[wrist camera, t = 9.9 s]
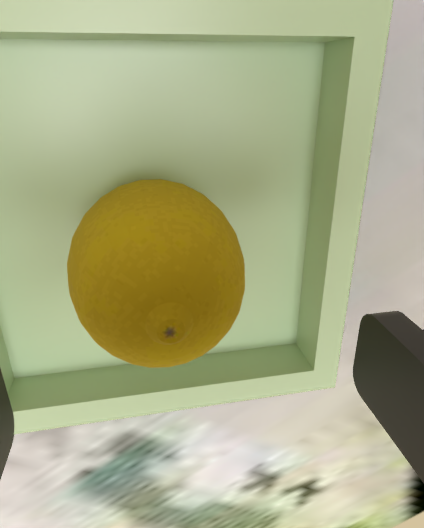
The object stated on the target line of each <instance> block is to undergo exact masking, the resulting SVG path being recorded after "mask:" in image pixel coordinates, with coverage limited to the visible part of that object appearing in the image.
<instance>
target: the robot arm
mask: <svg viewBox="0 0 424 528" xmlns="http://www.w3.org/2000/svg"><path fill="white" fill-rule="evenodd" d="M353 377H354V382H355V386H356V388H357V391H358V393H359V395H360V396H361V397H362V399H363V400H364V402H365V403H366V404H367V406H368V407H369V408H370V410H371V411H372V413H373V414H374V415H375V417H376V418H377V419H378V421H379V422H380V424H381V425H382V426H383V428H384V429H385V430H386V432H387V433H388V435H389V436H390V437H391V439H392V440H393V441H394V443H395V444H396V446H397V447H398V448H399V450H400V451H401V452H402V454H403V455H404V457H405V458H406V459H407V461H408V462H409V463H410V465H411V466H412V468H413V469H414V470H415V472H416V473H417V474H418V476H419V477H420V478H421V480H422V481H423V483H424V330H422V329H420V328H419V327H418V326H417V325H416V324H415V323H413V322H412V321H411V320H410V319H409V318H408V317H406V316H405V315H404V314H403V313H401V312H399V311H392V312H383V313H374V314H366V315H364V316H363V318H362V320H361V323H360V328H359V334H358V341H357V347H356V353H355V359H354V366H353ZM13 437H14V415H13V411H12V407H11V403H10V400H9V396H8V393H7V389H6V386H5V382H4V379H3V375H2V372H1V368H0V479H1V476H2V473H3V470H4V467H5V464H6V461H7V458H8V455H9V452H10V449H11V446H12V442H13Z"/></svg>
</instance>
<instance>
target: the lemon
mask: <svg viewBox="0 0 424 528" xmlns="http://www.w3.org/2000/svg"><path fill="white" fill-rule="evenodd" d="M67 274H68V286H69V294H70V297H71V300H72V303H73V305H74V308H75V311H76V313H77V316H78V318H79V321H80V322H81V324H82V326H83V327H84V328H85V330H86V331H87V332H88V333H89V335H90V336H91V337H92V339H93V340H94V341H95V342H96V343H97V344H98V345H99V346H101V347H102V348H103V349H104V350H106V351H107V352H108V353H110V354H111V355H112V356H115V357H117V358H119V359H121V360H123V361H126V362H128V363H130V364H133V365H138V366H144V367H149V368H159V367H172V366H176V365H180V364H185V363H188V362H190V361H192V360H194V359H196V358H198V357H201V356H203V355H204V354H205V353H207V352H208V351H209V350H211V349H212V348H213V347H215V346H216V345H217V344H218V343H219V342H220V341H221V340H222V338H223V337H224V336H225V335H226V334H227V333H228V331H229V330H230V329H231V327H232V325H233V323H234V321H235V320H236V318H237V316H238V314H239V311H240V308H241V304H242V300H243V295H244V291H245V264H244V258H243V254H242V251H241V247H240V244H239V241H238V238H237V235H236V233H235V231H234V229H233V228H232V226H231V224H230V223H229V221H228V220H227V218H226V217H225V215H224V214H223V212H222V211H221V210H220V209H219V208H218V207H217V206H216V205H215V204H214V203H213V202H211V201H210V200H209V199H208V198H207V197H206V196H205V195H204V194H202V193H200V192H198V191H196V190H194V189H192V188H190V187H188V186H186V185H184V184H182V183H177V182H172V181H168V180H163V179H149V180H138V181H134V182H131V183H128V184H124V185H121V186H119V187H117V188H115V189H114V190H112V191H111V192H109V193H107V194H106V195H104V196H102V197H101V198H100V199H99V200H98V201H97V202H96V203H95V204H94V205H93V206H92V207H91V208H90V209H89V210H88V211H87V212H86V213H85V215H84V216H83V218H82V220H81V222H80V223H79V225H78V227H77V229H76V231H75V233H74V235H73V237H72V241H71V246H70V251H69V255H68V261H67Z"/></svg>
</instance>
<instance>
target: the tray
mask: <svg viewBox="0 0 424 528" xmlns="http://www.w3.org/2000/svg"><path fill="white" fill-rule="evenodd" d="M392 7H393V0H0V368H1V372H2V375H3V379H4V382H5V386H6V389H7V393H8V396H9V400H10V403H11V407H12V411H13V415H14V434H20V433H26V432H33V431H40V430H47V429H54V428H61V427H67V426H74V425H81V424H88V423H95V422H102V421H108V420H115V419H122V418H129V417H136V416H143V415H149V414H156V413H163V412H170V411H177V410H184V409H190V408H197V407H204V406H211V405H218V404H225V403H231V402H238V401H245V400H252V399H259V398H266V397H272V396H279V395H286V394H293V393H300V392H307V391H313V390H320V389H327V388H334V387H335V383H336V377H337V370H338V363H339V357H340V350H341V344H342V337H343V330H344V324H345V317H346V311H347V304H348V297H349V291H350V284H351V278H352V271H353V264H354V258H355V251H356V245H357V238H358V231H359V225H360V218H361V212H362V205H363V198H364V192H365V185H366V179H367V172H368V165H369V159H370V152H371V146H372V139H373V132H374V126H375V119H376V113H377V106H378V99H379V93H380V86H381V80H382V73H383V66H384V60H385V53H386V47H387V40H388V33H389V27H390V20H391V14H392ZM149 179H163V180H168V181H172V182H177V183H182V184H184V185H186V186H188V187H190V188H192V189H194V190H196V191H198V192H200V193H202V194H204V195H205V196H206V197H207V198H208V199H209V200H210V201H211V202H213V203H214V204H215V205H216V206H217V207H218V208H219V209H220V210H221V211H222V212H223V214H224V215H225V217H226V218H227V220H228V221H229V223H230V224H231V226H232V228H233V229H234V231H235V233H236V235H237V238H238V241H239V244H240V247H241V251H242V254H243V258H244V264H245V291H244V295H243V300H242V304H241V308H240V311H239V314H238V316H237V318H236V320H235V321H234V323H233V325H232V327H231V329H230V330H229V331H228V333H227V334H226V335H225V336H224V337H223V338H222V340H221V341H220V342H219V343H218V344H217V345H216V346H215V347H213V348H212V349H211V350H209V351H208V352H207V353H205V354H204V355H203V356H201V357H198V358H196V359H194V360H192V361H190V362H188V363H185V364H180V365H176V366H172V367H159V368H149V367H144V366H138V365H133V364H130V363H128V362H126V361H123V360H121V359H119V358H117V357H115V356H112V355H111V354H110V353H108V352H107V351H106V350H104V349H103V348H102V347H101V346H99V345H98V344H97V343H96V342H95V341H94V340H93V339H92V337H91V336H90V335H89V333H88V332H87V331H86V330H85V328H84V327H83V326H82V324H81V322H80V321H79V318H78V316H77V313H76V311H75V308H74V305H73V303H72V300H71V297H70V294H69V286H68V274H67V261H68V255H69V251H70V246H71V241H72V237H73V235H74V233H75V231H76V229H77V227H78V225H79V223H80V222H81V220H82V218H83V216H84V215H85V213H86V212H87V211H88V210H89V209H90V208H91V207H92V206H93V205H94V204H95V203H96V202H97V201H98V200H99V199H100V198H101V197H102V196H104V195H106V194H107V193H109V192H111V191H112V190H114V189H115V188H117V187H119V186H121V185H124V184H128V183H131V182H134V181H138V180H149Z"/></svg>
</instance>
